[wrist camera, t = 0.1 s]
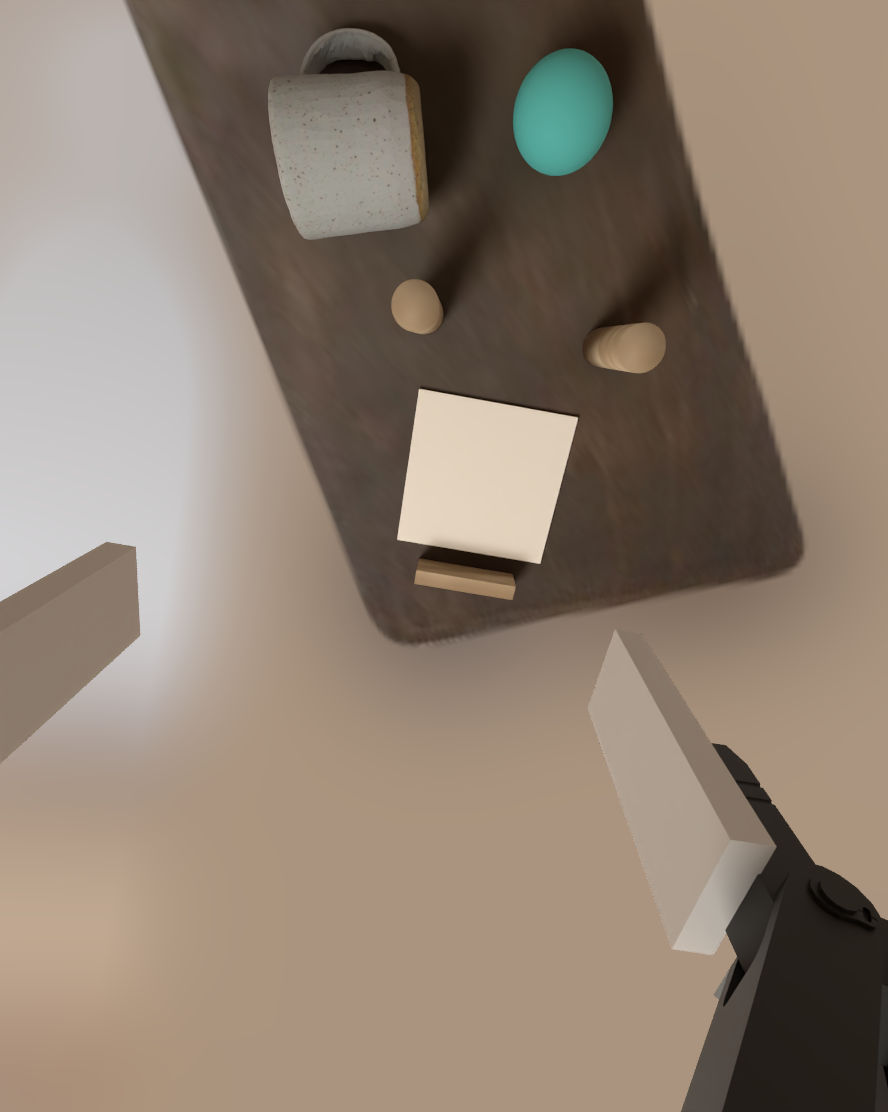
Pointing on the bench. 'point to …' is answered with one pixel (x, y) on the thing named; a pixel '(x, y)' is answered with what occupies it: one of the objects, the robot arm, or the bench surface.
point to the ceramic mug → (349, 140)
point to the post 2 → (625, 347)
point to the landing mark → (483, 476)
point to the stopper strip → (465, 579)
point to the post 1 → (417, 307)
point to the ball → (563, 112)
